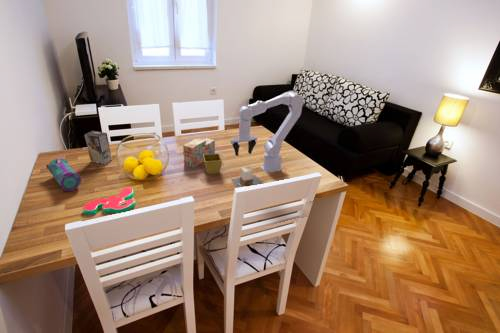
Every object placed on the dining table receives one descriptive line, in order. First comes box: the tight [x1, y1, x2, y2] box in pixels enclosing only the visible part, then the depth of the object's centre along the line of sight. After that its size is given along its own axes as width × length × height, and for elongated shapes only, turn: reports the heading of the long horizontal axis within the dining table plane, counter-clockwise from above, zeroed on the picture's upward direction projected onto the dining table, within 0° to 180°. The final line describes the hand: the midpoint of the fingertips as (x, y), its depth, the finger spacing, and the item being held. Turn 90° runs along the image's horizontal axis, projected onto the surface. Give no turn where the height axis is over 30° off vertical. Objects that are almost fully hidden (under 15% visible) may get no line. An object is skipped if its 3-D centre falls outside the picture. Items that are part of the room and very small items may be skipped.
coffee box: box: [84, 130, 113, 165], centre depth 148 cm, size 9×6×16 cm
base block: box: [239, 176, 254, 187], centre depth 138 cm, size 5×5×4 cm
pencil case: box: [45, 157, 82, 192], centre depth 130 cm, size 21×9×10 cm, turn 47°
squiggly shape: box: [82, 186, 136, 215], centre depth 119 cm, size 20×16×2 cm
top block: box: [239, 165, 254, 181], centre depth 136 cm, size 4×4×5 cm
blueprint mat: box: [230, 174, 264, 187], centre depth 140 cm, size 14×14×1 cm
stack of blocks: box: [182, 137, 216, 169], centre depth 158 cm, size 21×6×12 cm, turn 153°
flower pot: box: [203, 152, 223, 175], centre depth 147 cm, size 9×9×9 cm
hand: (243, 154), depth 148 cm, fingers open, 7 cm apart
